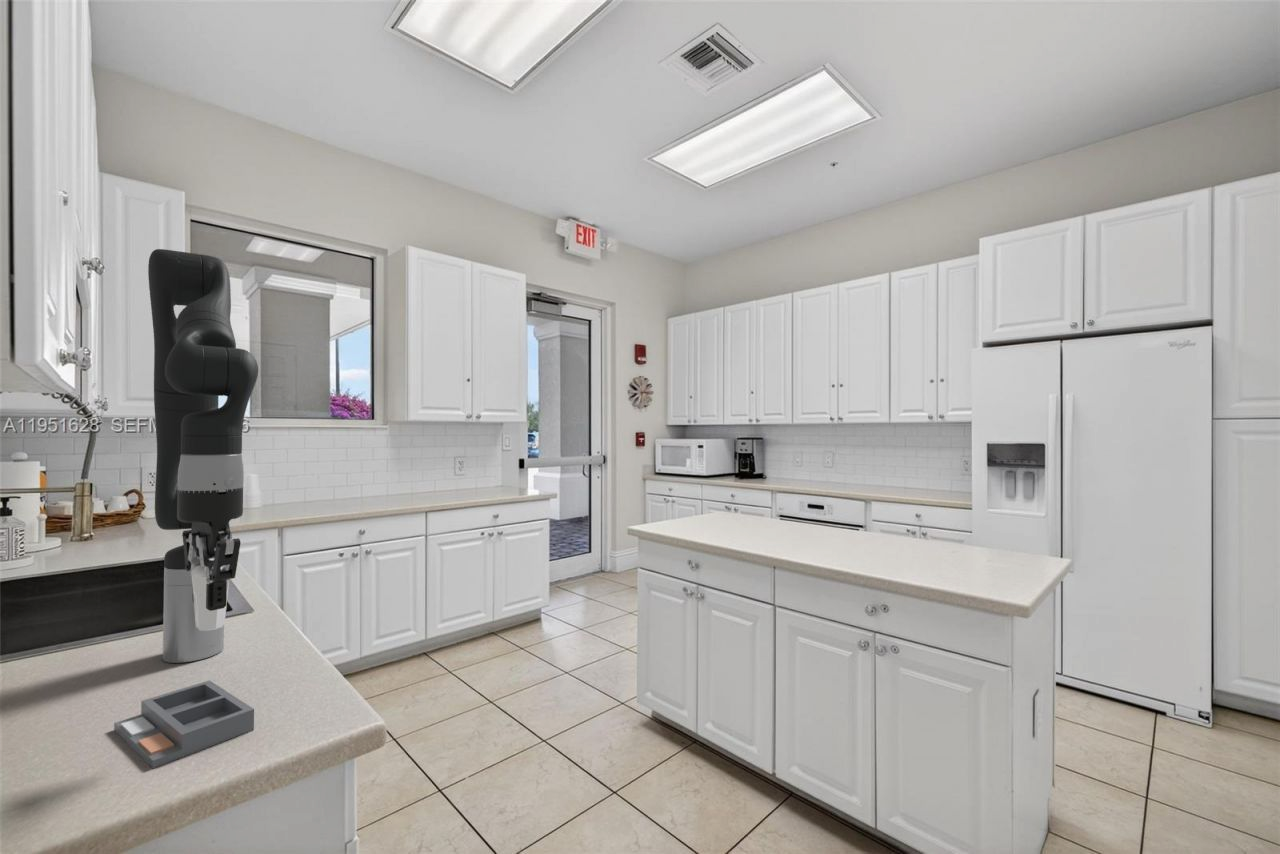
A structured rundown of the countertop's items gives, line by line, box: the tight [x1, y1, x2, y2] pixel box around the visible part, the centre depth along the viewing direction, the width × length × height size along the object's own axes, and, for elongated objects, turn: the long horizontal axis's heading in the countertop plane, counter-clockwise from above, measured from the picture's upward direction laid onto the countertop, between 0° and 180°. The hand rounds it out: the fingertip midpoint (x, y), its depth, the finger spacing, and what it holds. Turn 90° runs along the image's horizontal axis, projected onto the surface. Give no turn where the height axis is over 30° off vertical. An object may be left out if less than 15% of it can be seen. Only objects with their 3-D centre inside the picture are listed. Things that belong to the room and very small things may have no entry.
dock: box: [113, 680, 255, 769], centre depth 82 cm, size 16×12×3 cm
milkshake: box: [191, 565, 231, 631], centre depth 81 cm, size 4×5×10 cm
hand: (209, 605), depth 81 cm, fingers closed on milkshake, 4 cm apart
